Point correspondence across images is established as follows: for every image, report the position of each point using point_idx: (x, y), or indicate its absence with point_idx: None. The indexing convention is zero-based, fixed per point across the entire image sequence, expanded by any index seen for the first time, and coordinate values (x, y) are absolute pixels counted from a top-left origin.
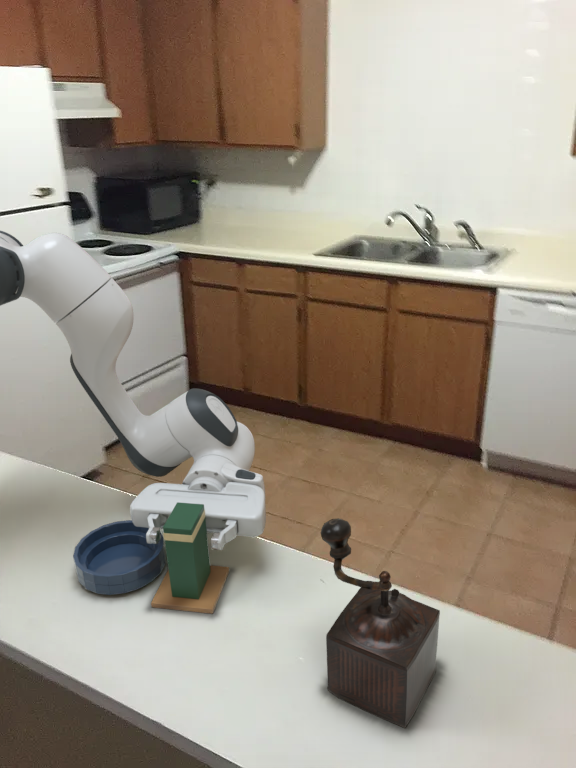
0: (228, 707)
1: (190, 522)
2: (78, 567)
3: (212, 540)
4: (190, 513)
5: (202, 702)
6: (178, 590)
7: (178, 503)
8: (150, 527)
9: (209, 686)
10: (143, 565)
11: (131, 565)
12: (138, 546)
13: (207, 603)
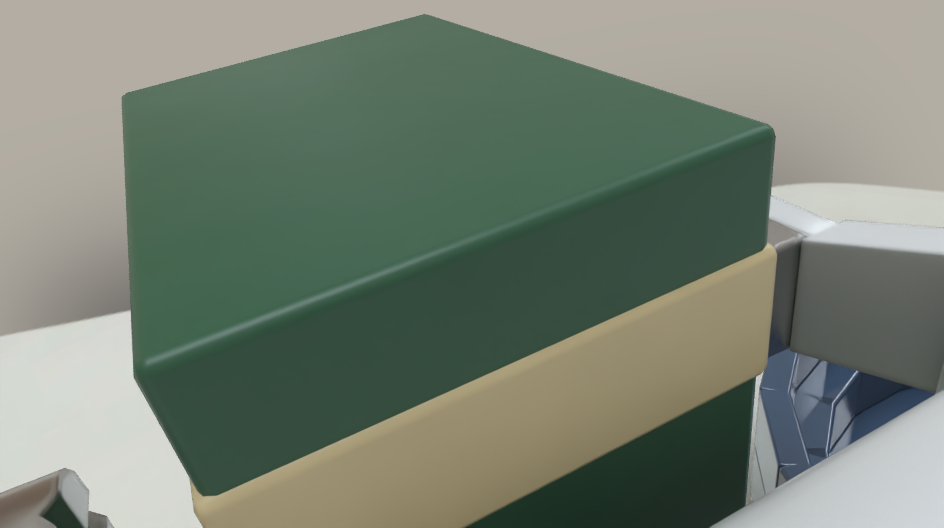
0: (27, 400)
1: (177, 108)
2: None
3: (44, 477)
4: (276, 143)
5: (118, 368)
6: None
7: (713, 128)
8: (819, 218)
9: (114, 406)
10: (777, 430)
11: None
12: None
13: None
